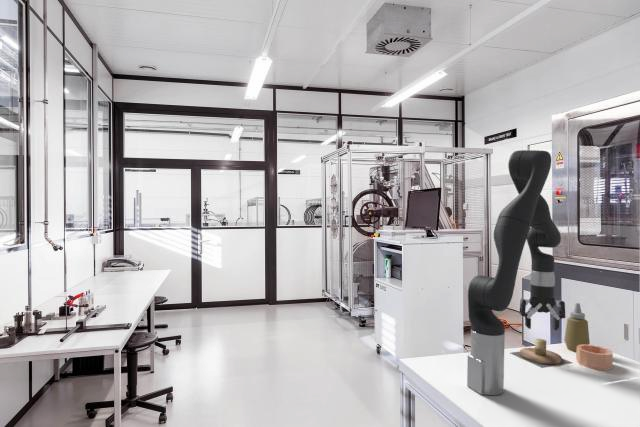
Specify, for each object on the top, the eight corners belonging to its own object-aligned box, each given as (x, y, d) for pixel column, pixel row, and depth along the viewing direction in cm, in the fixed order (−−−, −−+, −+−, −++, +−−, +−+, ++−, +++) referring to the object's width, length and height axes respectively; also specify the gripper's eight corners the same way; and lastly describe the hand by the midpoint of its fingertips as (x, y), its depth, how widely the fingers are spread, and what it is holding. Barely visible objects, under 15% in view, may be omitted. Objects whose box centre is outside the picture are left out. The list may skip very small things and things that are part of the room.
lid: (541, 366, 135) (542, 348, 134) (511, 353, 147) (512, 336, 147) (570, 362, 139) (571, 344, 139) (539, 349, 151) (539, 333, 151)
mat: (541, 369, 134) (541, 367, 134) (509, 354, 147) (509, 352, 147) (572, 364, 138) (573, 362, 138) (538, 350, 152) (538, 348, 152)
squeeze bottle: (564, 352, 150) (566, 304, 149) (563, 345, 157) (564, 300, 156) (590, 356, 146) (592, 307, 145) (588, 349, 153) (589, 302, 153)
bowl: (597, 373, 131) (598, 356, 131) (569, 361, 141) (570, 346, 141) (619, 369, 134) (619, 353, 134) (590, 358, 144) (591, 343, 144)
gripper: (523, 284, 140) (523, 331, 140) (569, 286, 137) (568, 333, 137) (517, 280, 147) (517, 324, 148) (560, 282, 144) (559, 326, 145)
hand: (541, 328), depth 143 cm, fingers open, 8 cm apart
